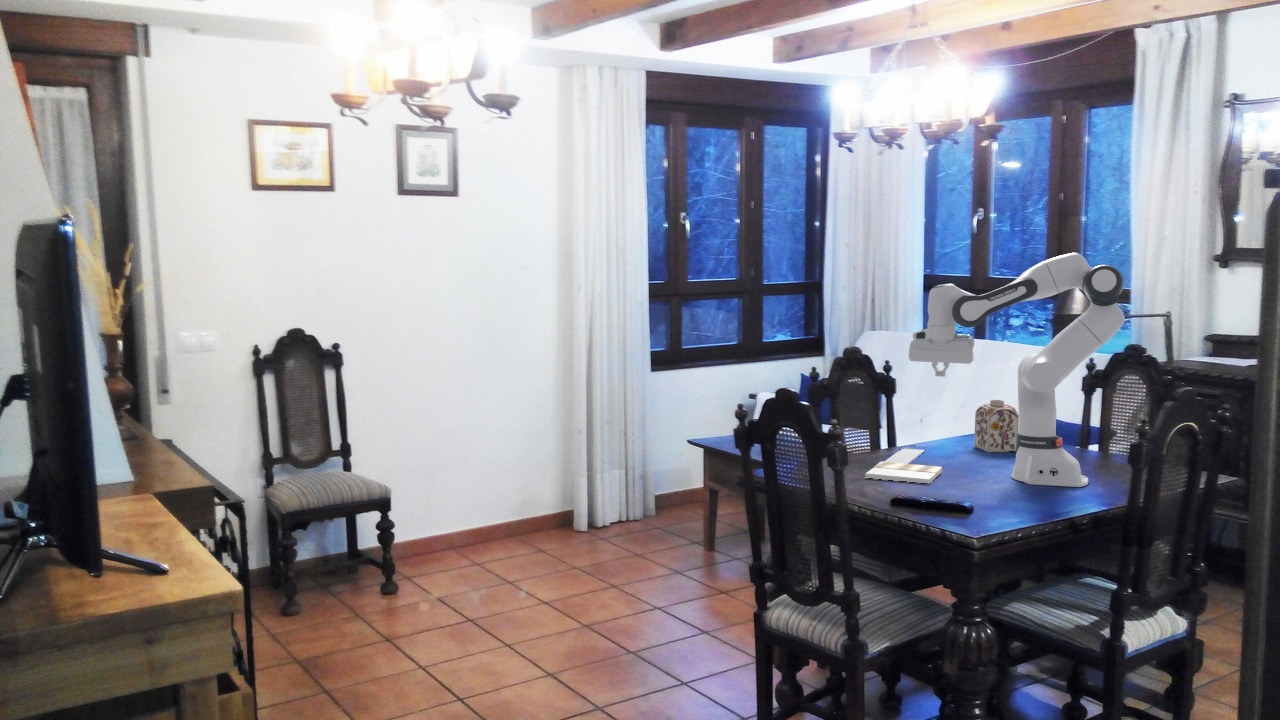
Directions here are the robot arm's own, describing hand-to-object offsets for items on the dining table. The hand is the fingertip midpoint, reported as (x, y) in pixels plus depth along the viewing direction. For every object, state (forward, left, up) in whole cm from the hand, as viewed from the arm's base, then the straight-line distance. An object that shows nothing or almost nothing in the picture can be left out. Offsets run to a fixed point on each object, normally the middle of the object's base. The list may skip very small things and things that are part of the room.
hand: (940, 376), depth 336 cm
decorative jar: (-11, -45, -31) cm, 56 cm away
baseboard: (+16, -14, -32) cm, 38 cm away
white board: (+8, +17, -31) cm, 37 cm away
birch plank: (+8, +8, -31) cm, 33 cm away
